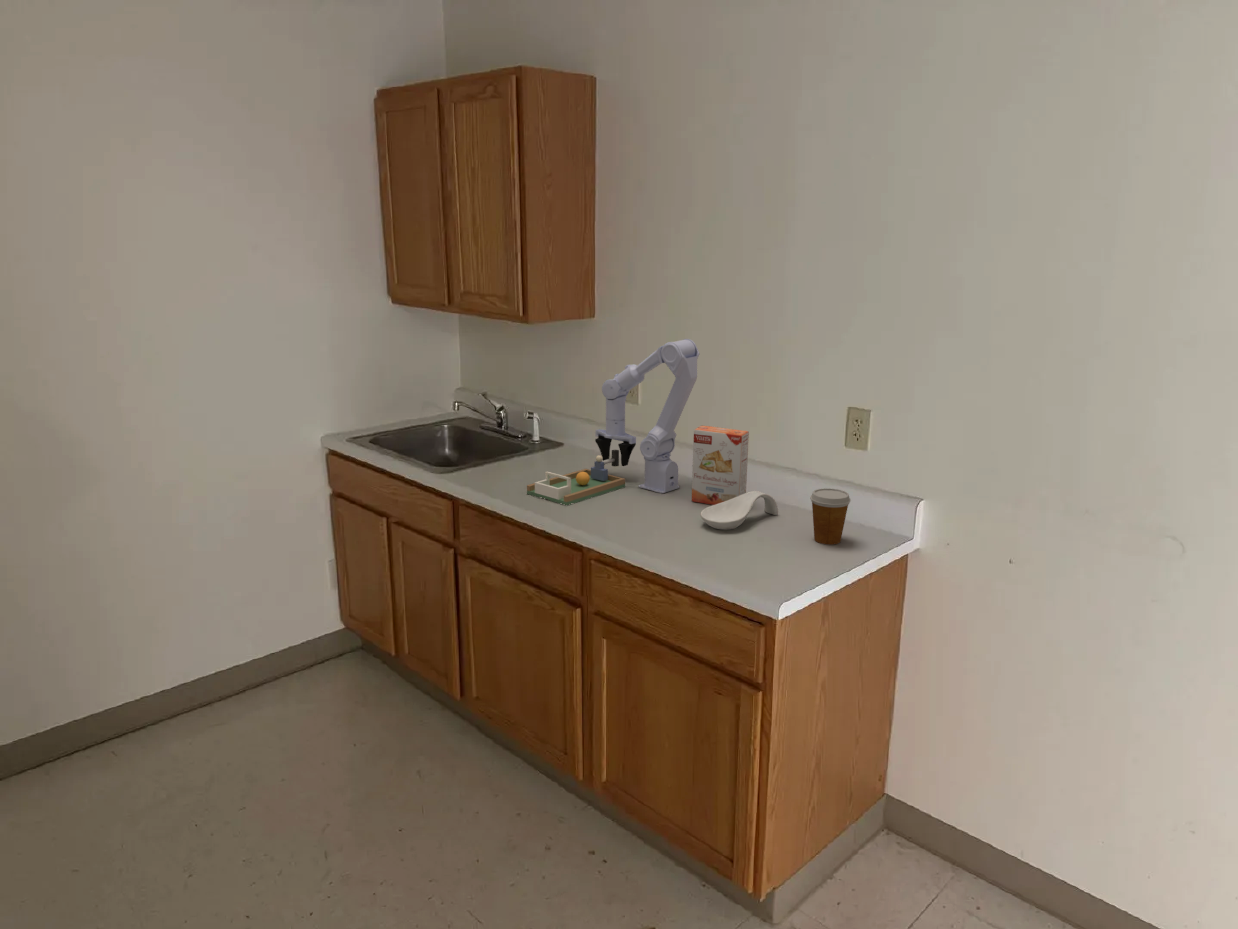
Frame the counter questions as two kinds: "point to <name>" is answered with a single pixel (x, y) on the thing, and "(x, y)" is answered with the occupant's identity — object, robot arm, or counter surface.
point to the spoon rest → (736, 510)
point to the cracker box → (719, 464)
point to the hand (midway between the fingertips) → (615, 463)
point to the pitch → (572, 487)
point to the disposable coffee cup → (829, 514)
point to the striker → (599, 470)
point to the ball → (582, 478)
